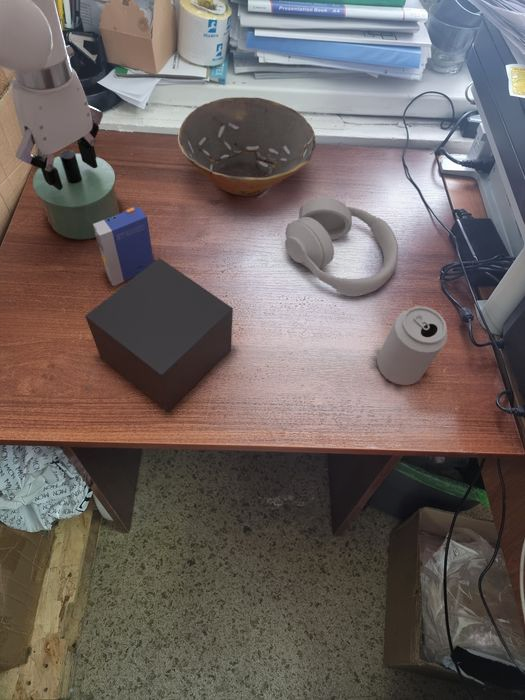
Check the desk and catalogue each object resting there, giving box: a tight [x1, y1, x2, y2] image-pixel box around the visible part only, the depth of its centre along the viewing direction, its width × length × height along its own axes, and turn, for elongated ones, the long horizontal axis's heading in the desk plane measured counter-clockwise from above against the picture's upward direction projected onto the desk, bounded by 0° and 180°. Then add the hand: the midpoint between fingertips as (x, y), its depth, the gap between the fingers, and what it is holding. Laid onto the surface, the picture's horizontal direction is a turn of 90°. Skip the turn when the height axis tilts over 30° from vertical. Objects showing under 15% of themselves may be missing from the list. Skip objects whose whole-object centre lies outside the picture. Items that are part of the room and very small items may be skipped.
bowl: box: [177, 96, 317, 197], centre depth 97 cm, size 25×25×10 cm
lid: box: [32, 149, 116, 209], centre depth 84 cm, size 13×13×5 cm
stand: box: [84, 257, 234, 413], centre depth 73 cm, size 14×14×11 cm
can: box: [376, 305, 448, 386], centre depth 75 cm, size 8×8×12 cm
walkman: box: [93, 206, 155, 287], centre depth 81 cm, size 8×3×12 cm, turn 125°
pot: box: [40, 186, 120, 240], centre depth 89 cm, size 12×12×8 cm
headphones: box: [284, 196, 399, 297], centre depth 89 cm, size 18×8×20 cm
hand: (72, 174), depth 85 cm, fingers open, 6 cm apart
